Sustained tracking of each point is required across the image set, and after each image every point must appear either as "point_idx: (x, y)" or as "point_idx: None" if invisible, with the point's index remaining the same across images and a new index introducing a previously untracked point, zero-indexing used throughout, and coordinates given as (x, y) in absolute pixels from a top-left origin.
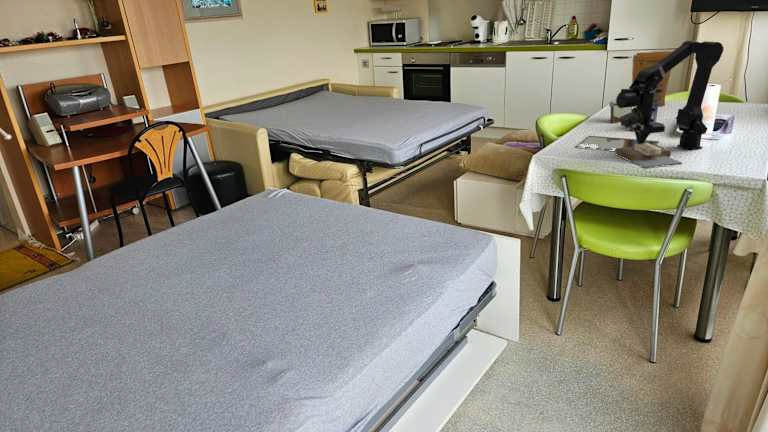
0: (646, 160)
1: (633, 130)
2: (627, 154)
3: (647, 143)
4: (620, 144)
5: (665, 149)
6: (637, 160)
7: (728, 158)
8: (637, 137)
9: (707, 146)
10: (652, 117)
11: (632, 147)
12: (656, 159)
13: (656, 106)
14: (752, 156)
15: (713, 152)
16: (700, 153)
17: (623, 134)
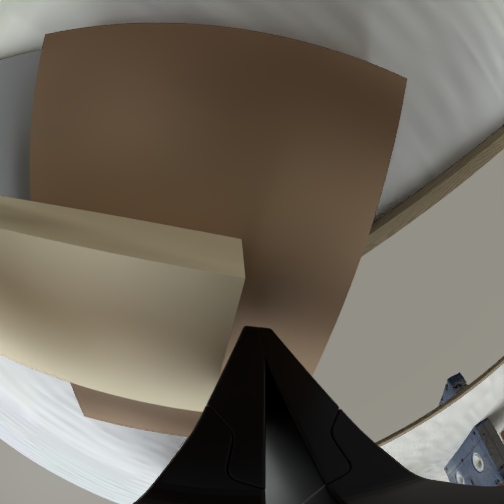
0: (12, 174)
1: (441, 484)
2: (122, 28)
3: (186, 401)
4: (478, 317)
5: (114, 415)
6: None
7: (53, 453)
8: (294, 411)
9: None
10: (456, 478)
11: (319, 275)
12: None
13: None
14: (70, 477)
15: (127, 477)
16: (125, 462)
17: (496, 393)
